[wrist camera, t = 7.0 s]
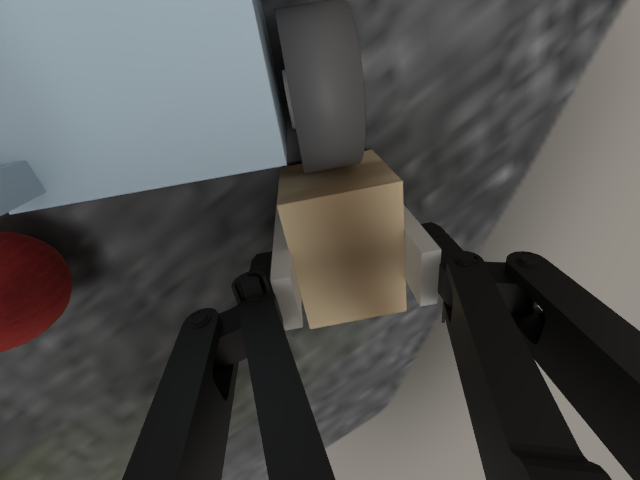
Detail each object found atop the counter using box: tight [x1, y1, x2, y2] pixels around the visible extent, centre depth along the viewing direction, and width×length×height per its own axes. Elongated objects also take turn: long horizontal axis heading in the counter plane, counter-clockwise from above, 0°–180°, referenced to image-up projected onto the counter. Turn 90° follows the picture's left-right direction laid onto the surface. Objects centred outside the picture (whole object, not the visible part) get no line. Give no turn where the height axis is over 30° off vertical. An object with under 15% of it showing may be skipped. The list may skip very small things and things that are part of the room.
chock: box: [277, 150, 407, 329], centre depth 16 cm, size 5×7×5 cm
